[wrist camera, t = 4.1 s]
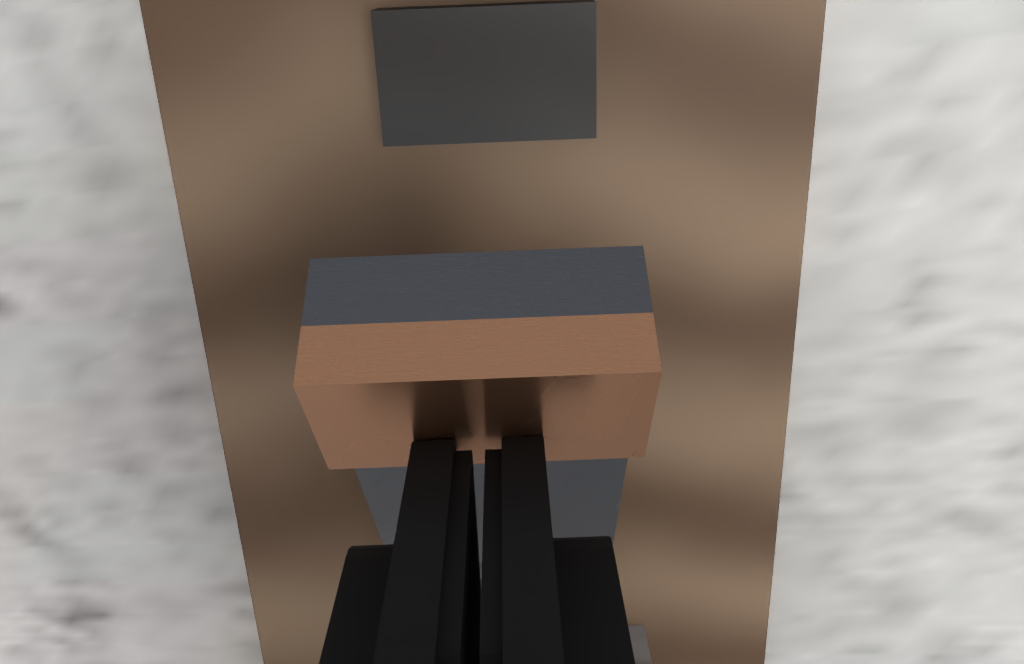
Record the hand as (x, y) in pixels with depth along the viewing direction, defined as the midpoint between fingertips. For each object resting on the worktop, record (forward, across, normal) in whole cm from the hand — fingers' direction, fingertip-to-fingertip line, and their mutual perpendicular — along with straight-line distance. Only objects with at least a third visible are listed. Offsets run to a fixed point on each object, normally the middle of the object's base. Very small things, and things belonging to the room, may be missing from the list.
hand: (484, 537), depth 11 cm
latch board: (+14, 0, +4) cm, 14 cm away
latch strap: (+11, 0, +14) cm, 17 cm away
